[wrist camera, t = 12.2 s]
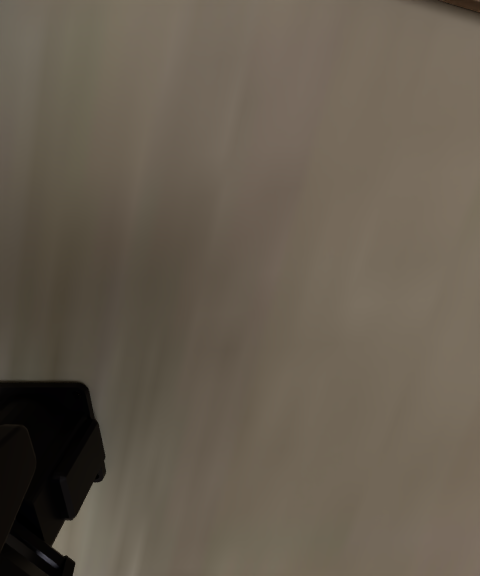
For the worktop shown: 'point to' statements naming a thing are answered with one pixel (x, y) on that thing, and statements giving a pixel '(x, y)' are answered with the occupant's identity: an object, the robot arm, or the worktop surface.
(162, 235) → the worktop surface
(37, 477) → the robot arm
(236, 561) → the worktop surface
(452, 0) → the shelf board
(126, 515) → the worktop surface
